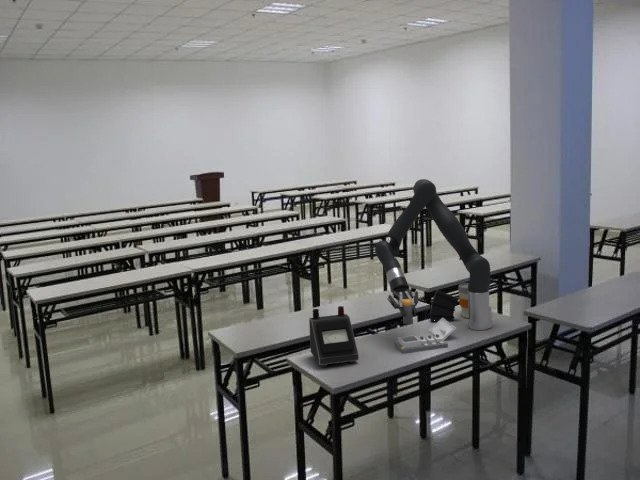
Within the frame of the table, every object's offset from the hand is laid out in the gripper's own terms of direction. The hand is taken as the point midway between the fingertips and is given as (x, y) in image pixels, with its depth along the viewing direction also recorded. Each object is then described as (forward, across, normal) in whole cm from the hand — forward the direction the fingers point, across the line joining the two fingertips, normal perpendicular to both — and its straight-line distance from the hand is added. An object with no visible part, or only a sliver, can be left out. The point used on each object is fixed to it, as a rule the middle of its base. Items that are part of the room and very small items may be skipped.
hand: (409, 315), depth 244 cm
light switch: (+4, +20, +18) cm, 27 cm away
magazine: (-9, +30, +31) cm, 44 cm away
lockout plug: (+1, 0, +4) cm, 5 cm away
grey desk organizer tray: (+10, +5, +12) cm, 16 cm away
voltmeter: (+9, -33, +13) cm, 36 cm away
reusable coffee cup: (-10, +45, +31) cm, 55 cm away
